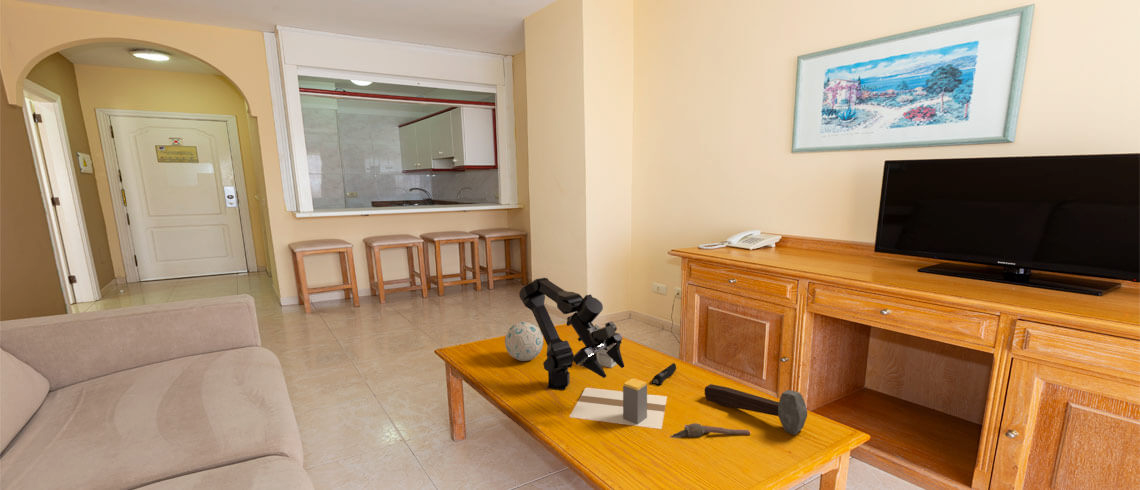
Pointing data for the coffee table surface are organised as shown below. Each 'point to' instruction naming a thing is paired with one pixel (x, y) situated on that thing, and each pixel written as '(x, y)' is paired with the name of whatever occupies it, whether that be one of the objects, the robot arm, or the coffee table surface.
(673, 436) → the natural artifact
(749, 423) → the coffee table surface
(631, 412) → the yellow-topped grey block
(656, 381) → the electric trimmer
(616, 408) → the board
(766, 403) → the hammer
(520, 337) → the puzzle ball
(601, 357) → the light bulb box
